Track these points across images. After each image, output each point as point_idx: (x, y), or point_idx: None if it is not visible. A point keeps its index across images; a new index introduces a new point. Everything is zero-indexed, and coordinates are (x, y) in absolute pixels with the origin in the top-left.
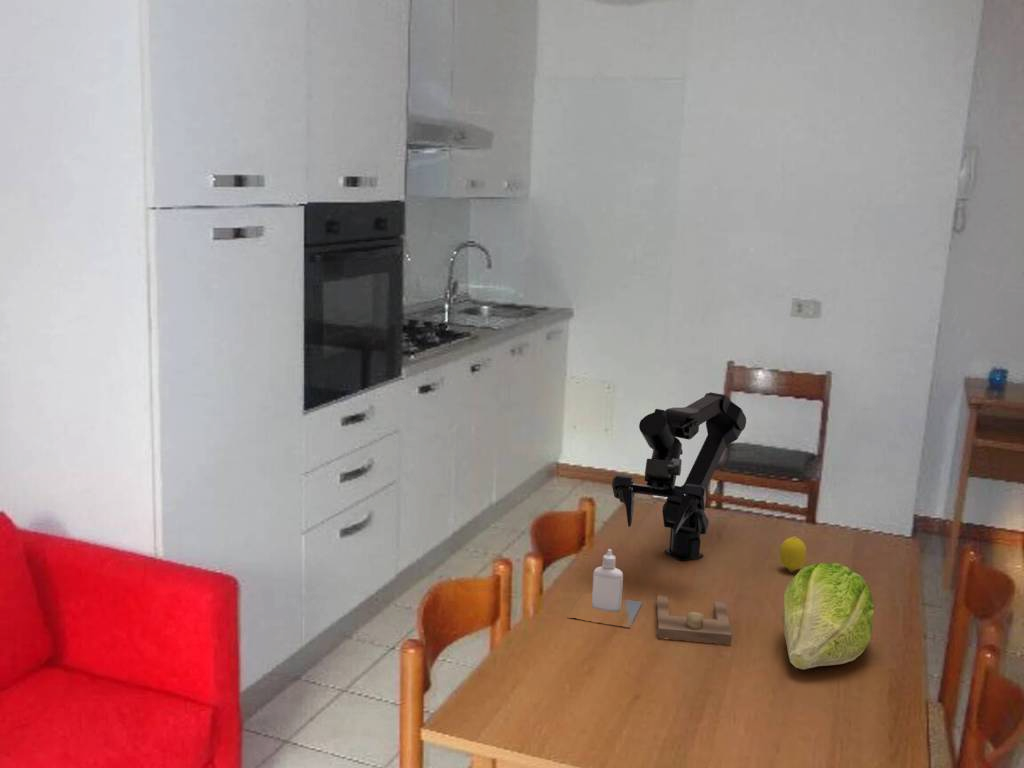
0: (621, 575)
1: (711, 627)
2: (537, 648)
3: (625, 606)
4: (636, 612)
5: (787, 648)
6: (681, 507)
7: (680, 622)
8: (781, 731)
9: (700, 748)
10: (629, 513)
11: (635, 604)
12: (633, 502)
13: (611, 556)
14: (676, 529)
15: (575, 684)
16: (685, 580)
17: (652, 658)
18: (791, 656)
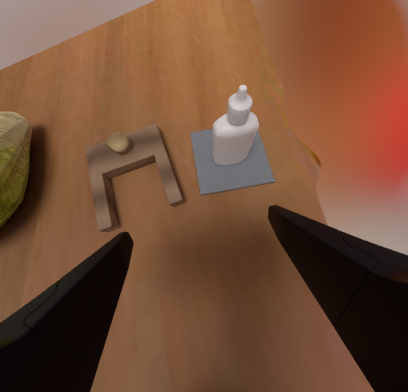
0: (213, 125)
1: (106, 152)
2: (244, 66)
3: (213, 172)
4: (196, 165)
5: (25, 131)
6: (22, 324)
7: (138, 146)
8: (56, 65)
9: (102, 31)
10: (301, 222)
11: (205, 183)
12: (379, 376)
13: (234, 96)
14: (116, 236)
15: (193, 44)
16: (174, 314)
17: (154, 99)
18: (23, 117)
